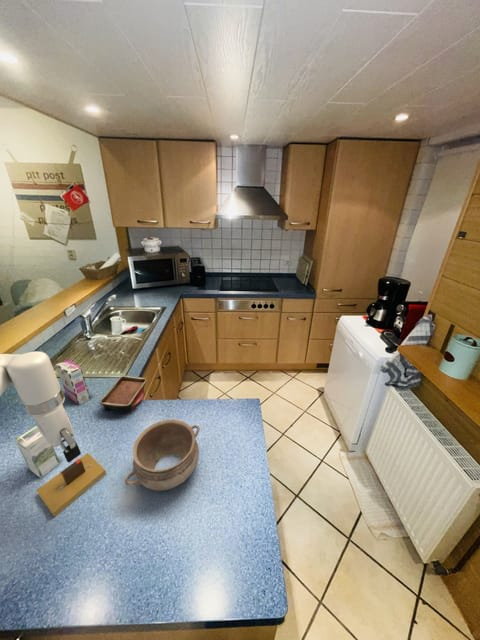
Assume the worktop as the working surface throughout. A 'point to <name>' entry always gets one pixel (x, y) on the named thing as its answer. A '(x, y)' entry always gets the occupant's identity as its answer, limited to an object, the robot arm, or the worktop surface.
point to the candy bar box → (73, 381)
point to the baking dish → (124, 394)
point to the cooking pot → (164, 454)
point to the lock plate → (70, 486)
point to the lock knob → (73, 471)
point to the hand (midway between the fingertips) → (65, 448)
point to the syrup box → (37, 452)
